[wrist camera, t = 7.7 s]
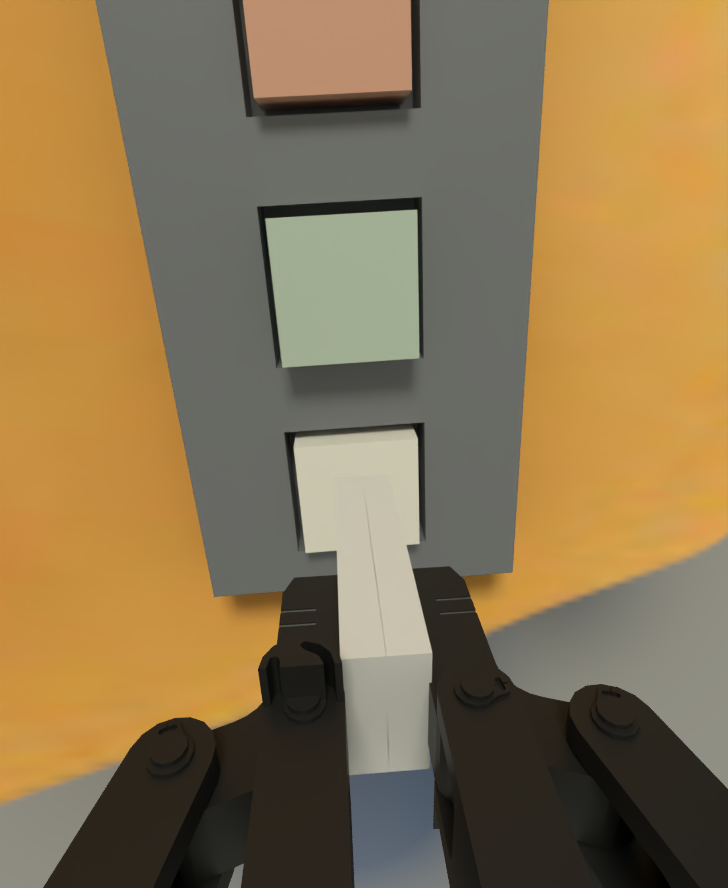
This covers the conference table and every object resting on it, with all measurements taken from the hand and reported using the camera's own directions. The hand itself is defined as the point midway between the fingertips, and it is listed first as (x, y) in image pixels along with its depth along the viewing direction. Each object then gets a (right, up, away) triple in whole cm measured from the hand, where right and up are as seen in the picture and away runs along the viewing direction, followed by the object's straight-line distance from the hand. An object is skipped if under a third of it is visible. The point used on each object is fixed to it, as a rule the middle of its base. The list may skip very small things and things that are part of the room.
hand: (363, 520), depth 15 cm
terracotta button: (-1, +16, +3) cm, 17 cm away
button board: (-1, +9, +7) cm, 12 cm away
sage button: (-1, +8, +6) cm, 10 cm away
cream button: (0, +1, +10) cm, 10 cm away
